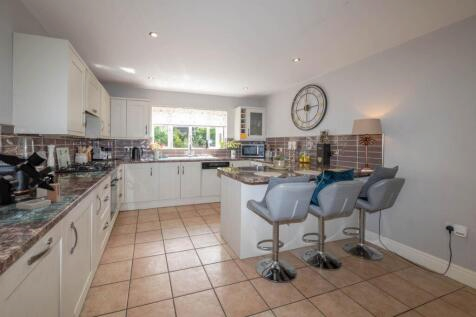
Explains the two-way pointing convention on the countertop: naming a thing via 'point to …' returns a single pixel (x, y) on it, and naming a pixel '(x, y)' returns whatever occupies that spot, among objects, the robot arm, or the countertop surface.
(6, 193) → the robot arm
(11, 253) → the countertop surface
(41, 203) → the socket block
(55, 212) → the countertop surface
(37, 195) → the printed box
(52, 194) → the plug
